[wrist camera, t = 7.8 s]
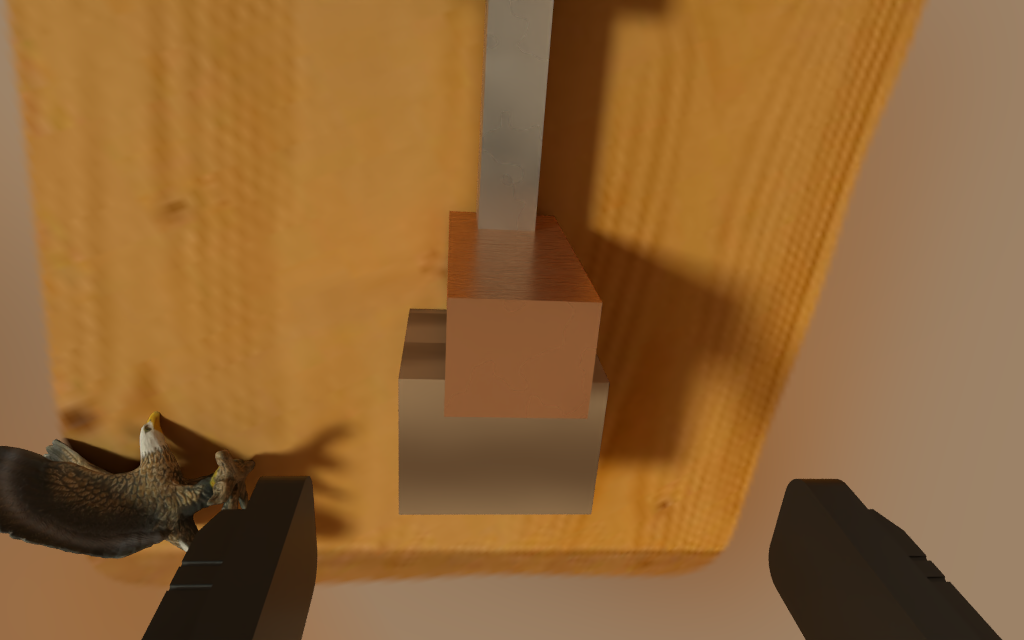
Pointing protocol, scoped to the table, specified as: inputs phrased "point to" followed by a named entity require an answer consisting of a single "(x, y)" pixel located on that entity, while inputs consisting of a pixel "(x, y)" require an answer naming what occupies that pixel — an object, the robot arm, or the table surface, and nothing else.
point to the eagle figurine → (111, 497)
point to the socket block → (487, 443)
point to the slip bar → (516, 250)
